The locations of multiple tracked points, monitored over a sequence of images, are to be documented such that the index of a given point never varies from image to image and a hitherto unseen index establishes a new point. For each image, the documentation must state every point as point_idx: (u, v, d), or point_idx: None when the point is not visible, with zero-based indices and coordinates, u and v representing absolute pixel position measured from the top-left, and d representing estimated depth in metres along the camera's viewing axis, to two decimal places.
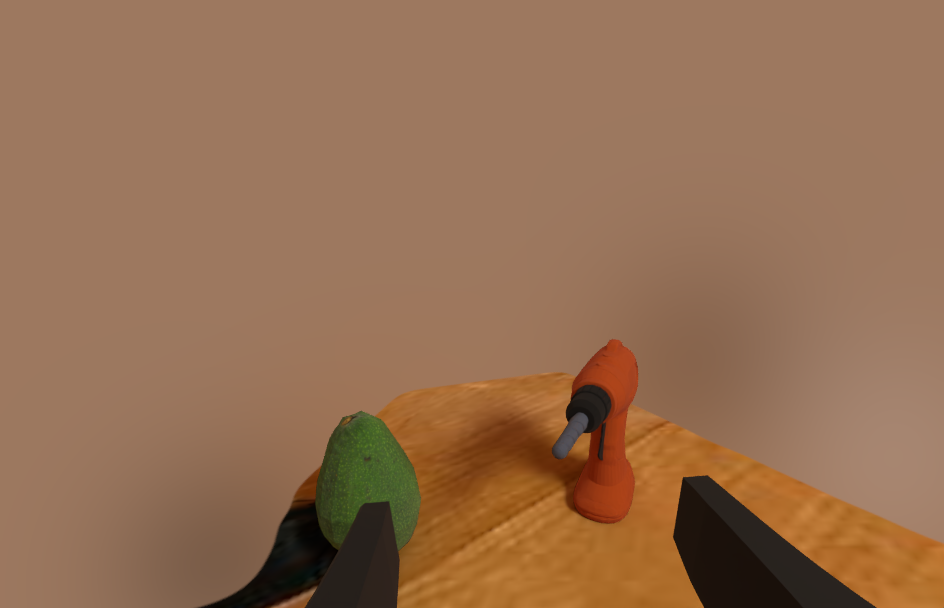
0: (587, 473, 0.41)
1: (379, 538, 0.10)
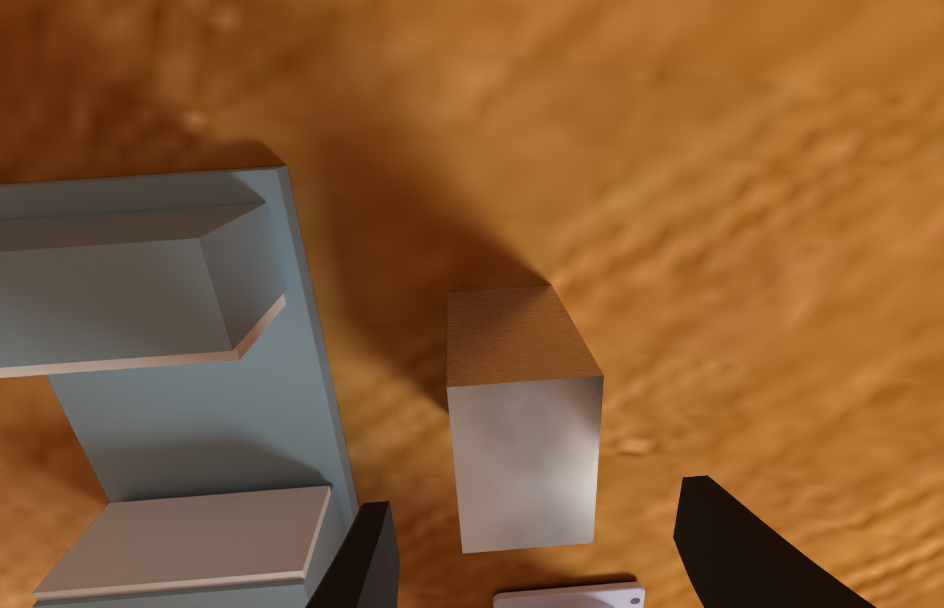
0: None
1: (379, 538, 0.10)
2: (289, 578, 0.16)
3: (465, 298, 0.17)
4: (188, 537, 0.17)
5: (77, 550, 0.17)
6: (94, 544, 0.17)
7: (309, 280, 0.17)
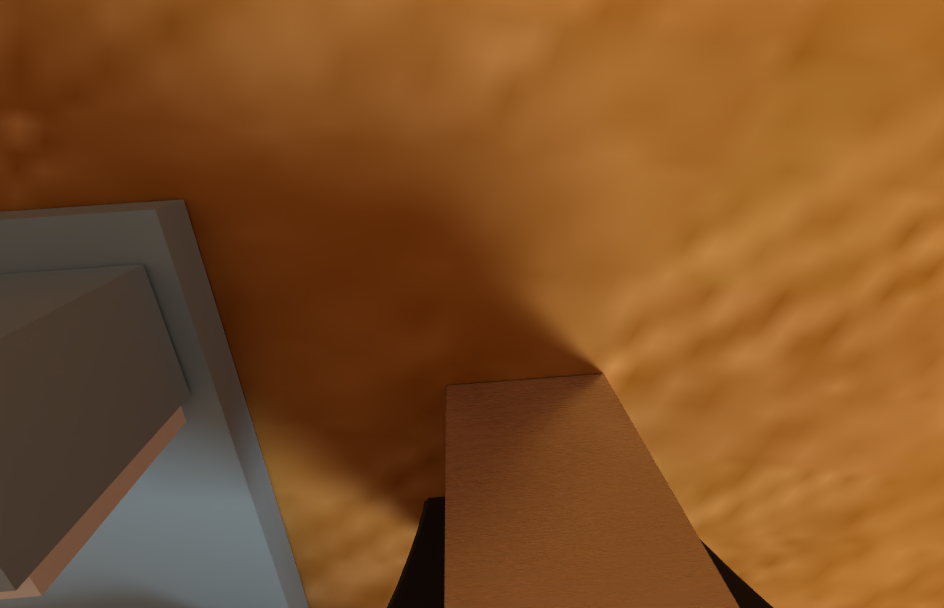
0: None
1: None
2: None
3: (474, 401, 0.11)
4: None
5: None
6: None
7: (233, 372, 0.11)
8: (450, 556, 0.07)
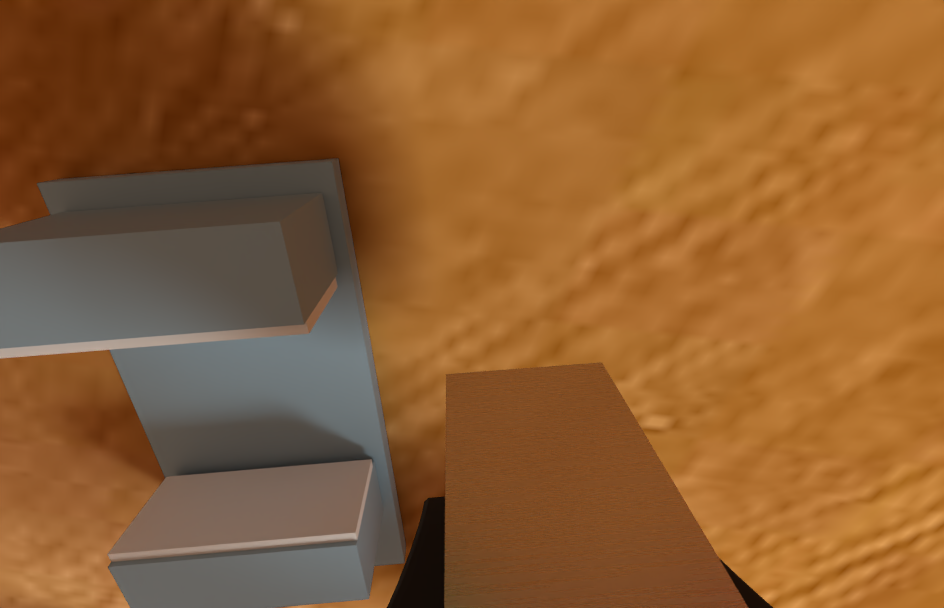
0: None
1: None
2: (343, 540, 0.17)
3: (473, 389, 0.11)
4: (245, 505, 0.18)
5: (143, 517, 0.18)
6: (158, 512, 0.18)
7: (356, 266, 0.18)
8: (450, 534, 0.07)
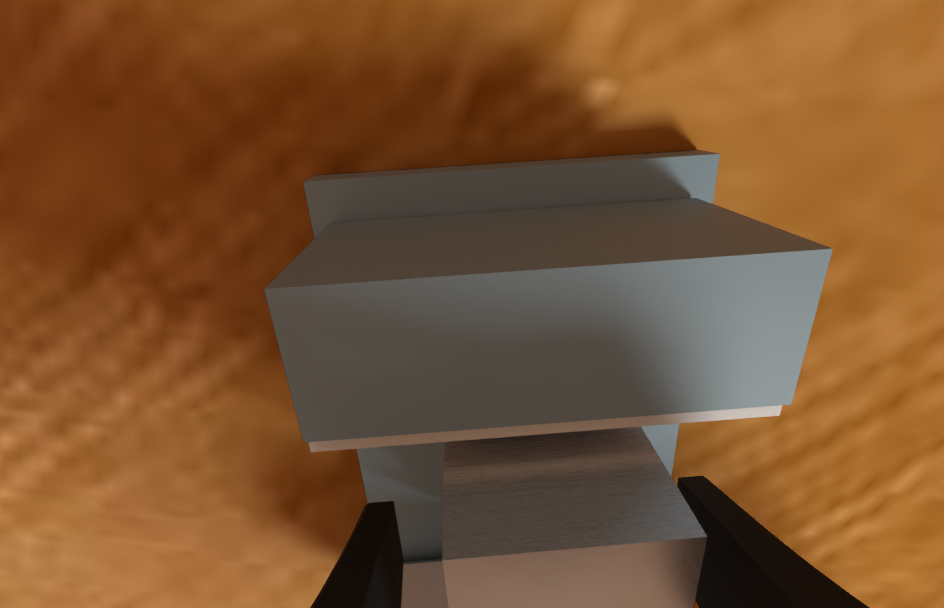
0: None
1: (384, 538, 0.10)
2: None
3: None
4: None
5: None
6: None
7: None
8: (448, 474, 0.08)
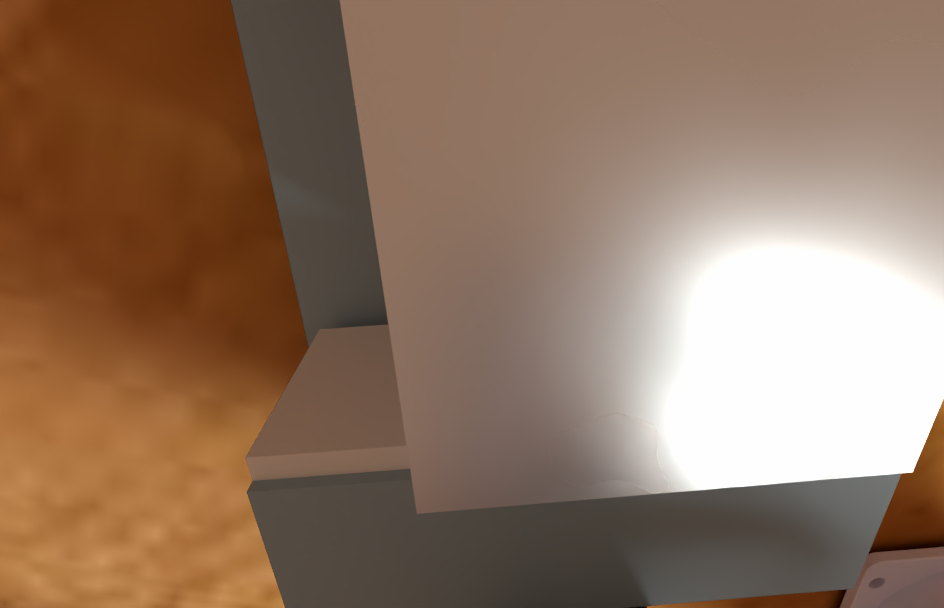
0: None
1: None
2: None
3: None
4: None
5: (305, 388, 0.07)
6: (337, 379, 0.08)
7: None
8: None
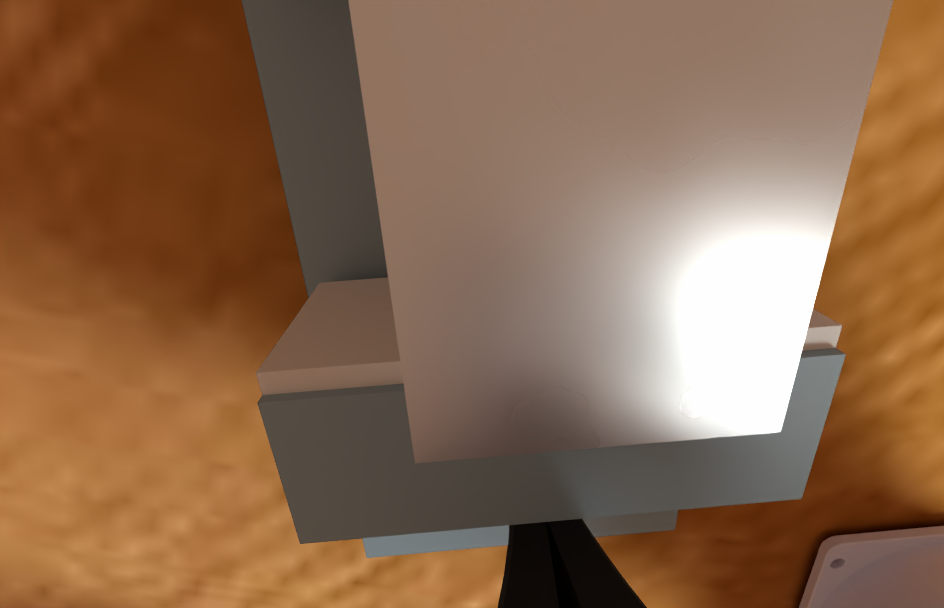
0: None
1: (546, 524, 0.10)
2: (808, 345, 0.07)
3: None
4: None
5: (307, 324, 0.08)
6: (336, 317, 0.09)
7: None
8: None
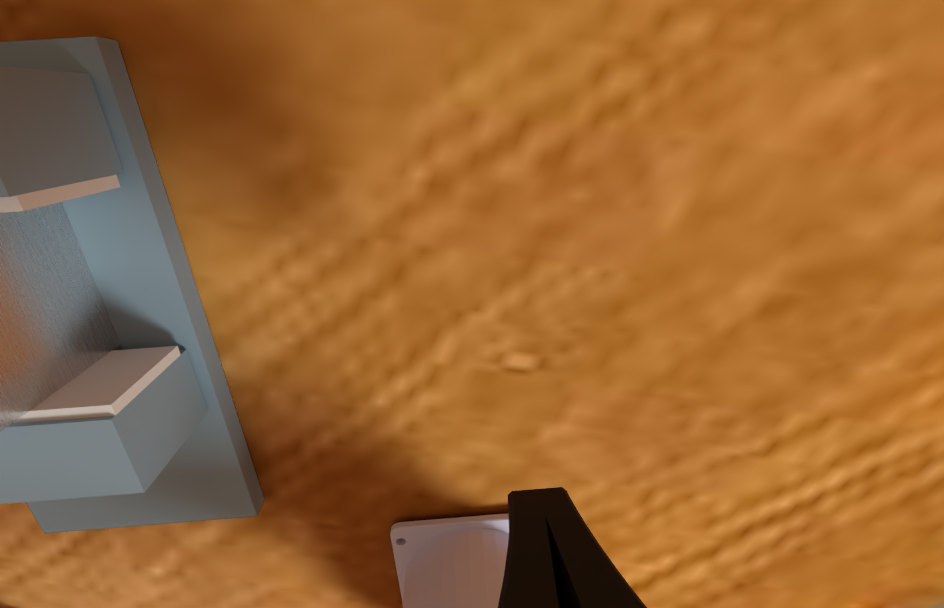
0: None
1: (546, 524, 0.10)
2: (97, 414, 0.14)
3: None
4: None
5: None
6: None
7: (156, 170, 0.16)
8: None
